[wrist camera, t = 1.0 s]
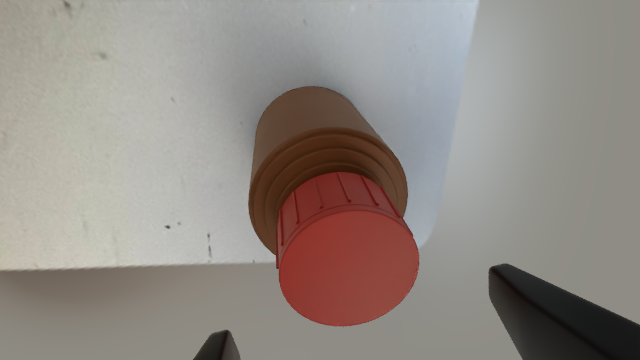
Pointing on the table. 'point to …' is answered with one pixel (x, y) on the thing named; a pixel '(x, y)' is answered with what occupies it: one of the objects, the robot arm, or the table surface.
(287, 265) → the cap
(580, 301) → the robot arm
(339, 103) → the bottle
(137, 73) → the table surface
